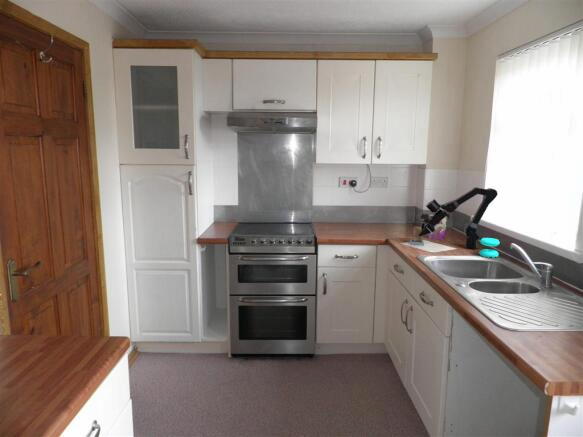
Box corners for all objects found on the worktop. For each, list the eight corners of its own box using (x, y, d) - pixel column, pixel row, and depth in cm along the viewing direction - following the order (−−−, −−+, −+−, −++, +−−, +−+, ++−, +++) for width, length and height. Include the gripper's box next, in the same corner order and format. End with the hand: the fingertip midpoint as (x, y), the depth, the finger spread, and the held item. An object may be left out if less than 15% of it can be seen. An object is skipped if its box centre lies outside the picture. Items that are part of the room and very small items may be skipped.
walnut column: (419, 243, 257) (420, 226, 255) (420, 244, 253) (421, 228, 251) (412, 243, 258) (413, 226, 256) (413, 244, 254) (414, 227, 252)
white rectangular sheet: (423, 241, 267) (424, 240, 267) (457, 250, 243) (457, 248, 243) (400, 244, 257) (400, 243, 257) (432, 254, 234) (432, 252, 234)
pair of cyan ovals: (490, 241, 222) (476, 238, 231) (489, 259, 223) (475, 254, 233) (503, 240, 225) (489, 237, 235) (502, 257, 227) (488, 253, 236)
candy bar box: (428, 239, 276) (429, 215, 273) (427, 237, 280) (429, 214, 278) (445, 240, 273) (447, 216, 270) (444, 238, 277) (446, 215, 275)
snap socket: (422, 243, 258) (422, 240, 258) (423, 245, 251) (424, 242, 250) (409, 242, 260) (409, 239, 259) (411, 245, 252) (411, 242, 252)
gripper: (426, 206, 260) (407, 223, 263) (430, 210, 241) (410, 228, 245) (438, 219, 259) (419, 235, 263) (443, 223, 241) (423, 241, 245)
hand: (418, 234), depth 254 cm, fingers open, 9 cm apart
